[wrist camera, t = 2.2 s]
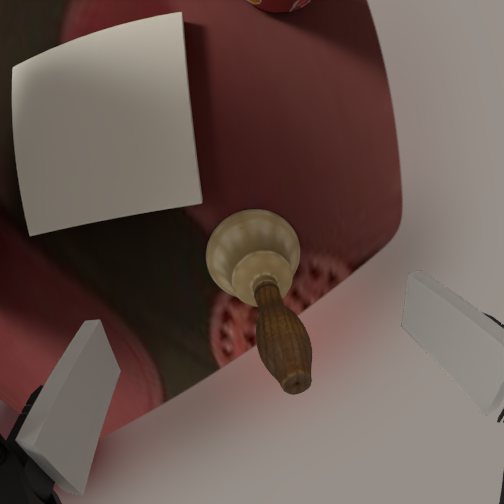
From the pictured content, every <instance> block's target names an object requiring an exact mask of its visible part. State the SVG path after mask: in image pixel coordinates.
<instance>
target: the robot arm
mask: <svg viewBox="0 0 504 504" xmlns="http://www.w3.org/2000/svg"><path fill="white" fill-rule="evenodd" d="M401 326H402V327H403V328H404V329H405V330H406V331H407V332H408V333H409V334H410V335H411V337H412V338H413V339H414V340H415V341H416V342H417V343H418V344H419V345H420V346H421V347H422V348H423V349H424V350H425V351H426V352H427V353H428V354H429V356H430V357H432V359H433V360H434V361H435V362H436V363H437V364H438V365H439V366H440V367H441V368H442V369H443V371H444V372H445V373H446V374H447V375H448V376H449V377H450V378H451V379H452V380H453V382H454V383H455V384H456V385H457V386H458V387H459V388H460V389H461V390H462V391H463V393H464V394H465V395H466V396H467V397H468V398H469V400H470V401H471V402H472V403H473V404H474V405H475V406H476V408H477V409H478V410H479V411H480V412H481V413H482V414H483V416H484V417H485V416H487V415H488V414H490V413H491V412H493V411H494V410H496V409H497V408H498V407H499V405H500V403H501V401H502V399H503V397H504V325H503V324H502V325H501V323H500V322H499V321H498V320H496V319H495V318H494V317H492V316H489V315H487V314H485V313H482V312H480V311H479V310H478V309H477V308H475V307H474V306H472V305H471V304H469V303H468V302H467V301H465V300H464V299H463V298H461V297H460V296H458V295H457V294H455V293H454V292H452V291H451V290H450V289H448V288H447V287H445V286H444V285H442V284H441V283H439V282H438V281H436V280H435V279H433V278H432V277H430V276H429V275H427V274H426V273H424V272H423V271H421V270H420V271H416V272H411V273H408V277H407V287H406V295H405V303H404V311H403V318H402V324H401ZM120 372H121V370H120V368H119V366H118V363H117V361H116V359H115V356H114V354H113V351H112V349H111V346H110V344H109V341H108V339H107V336H106V334H105V331H104V328H103V326H102V323H101V320H100V319H99V320H87V321H84V323H83V324H82V326H81V327H80V329H79V330H78V332H77V333H76V335H75V336H74V338H73V339H72V341H71V343H70V344H69V346H68V347H67V349H66V350H65V352H64V354H63V355H62V357H61V358H60V360H59V362H58V363H57V365H56V367H55V368H54V370H53V372H52V373H51V375H50V377H49V378H48V380H47V382H46V383H45V385H44V386H42V385H41V386H40V387H39V388H38V389H36V390H35V391H34V392H33V393H32V394H31V396H30V398H29V399H28V401H27V403H26V406H24V408H23V410H22V414H20V416H19V417H18V419H17V421H16V423H15V425H14V427H13V429H12V431H11V432H10V434H9V436H8V438H7V440H5V439H4V438H3V437H2V436H1V434H0V504H62V503H61V501H60V499H59V497H58V495H57V494H56V493H55V491H54V490H53V487H54V483H56V484H57V485H58V486H59V487H60V488H61V489H62V490H63V491H65V492H69V493H74V494H78V495H84V491H85V487H86V483H87V478H88V475H89V471H90V468H91V464H92V460H93V457H94V453H95V450H96V446H97V443H98V439H99V436H100V433H101V429H102V426H103V423H104V420H105V417H106V413H107V410H108V407H109V404H110V401H111V398H112V395H113V392H114V389H115V386H116V384H117V381H118V378H119V375H120ZM503 416H504V409H503V411H502V412H501V414H500V416H499V417H498V421H497V422H500V421H501V419H502V418H503ZM503 422H504V421H503ZM499 504H504V473H503V482H502V491H501V497H500V503H499Z"/></svg>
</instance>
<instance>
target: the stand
mask: <svg viewBox="0 0 504 504" xmlns="http://www.w3.org/2000/svg"><path fill="white" fill-rule="evenodd" d="M12 120H13V137H14V148H15V158H16V166H17V174H18V180H19V187H20V193H21V198H22V204H23V209H24V214H25V218H26V223H27V227H28V231H29V235H30V236H34V235H38V234H42V233H47V232H51V231H56V230H60V229H65V228H69V227H74V226H79V225H83V224H88V223H93V222H98V221H103V220H109V219H114V218H119V217H124V216H130V215H135V214H141V213H147V212H153V211H158V210H164V209H171V208H177V207H183V206H190V205H196V204H202V201H203V197H202V190H201V183H200V176H199V168H198V160H197V152H196V144H195V136H194V127H193V118H192V109H191V100H190V90H189V80H188V69H187V58H186V46H185V34H184V21H183V16H182V12H177V13H171V14H166V15H161V16H156V17H151V18H146V19H142V20H137V21H133V22H129V23H126V24H122V25H118V26H115V27H111V28H108V29H104V30H101V31H98V32H95V33H92V34H89V35H86V36H83V37H80V38H78V39H75V40H72V41H70V42H67V43H65V44H62V45H60V46H57V47H55V48H52V49H50V50H48V51H45V52H43V53H41V54H39V55H37V56H35V57H32V58H30V59H28V60H26V61H24V62H22V63H20V64H18V65H16V66H15V67H13V72H12Z"/></svg>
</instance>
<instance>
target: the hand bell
mask: <svg viewBox="0 0 504 504" xmlns="http://www.w3.org/2000/svg"><path fill="white" fill-rule="evenodd" d="M299 261H300V244H299V240H298V237H297V235H296V233H295V231H294V229H293V228H292V227H291V225H290V224H289V223H288V222H287V221H286V220H285V219H283V218H282V217H281V216H279V215H277V214H275V213H273V212H271V211H267V210H261V209H249V210H243V211H240V212H237V213H234V214H232V215H230V216H229V217H227V218H226V219H224V220H223V221H222V222H221V223H220V224H219V225H218V226H217V227H216V228H215V230H214V231H213V233H212V235H211V237H210V239H209V241H208V244H207V249H206V264H207V268H208V271H209V273H210V275H211V277H212V279H213V280H214V281H215V283H216V284H217V285H218V286H219V287H220V288H221V289H223V290H224V291H225V292H227V293H229V294H230V295H233V296H235V297H238V298H239V299H240V300H241V301H243V302H244V303H246V304H248V305H251V306H255V307H258V309H259V312H260V315H259V318H258V321H257V327H256V341H257V347H258V351H259V354H260V357H261V359H262V362H263V363H264V365H265V366H266V368H267V369H268V371H269V372H270V373H271V374H272V376H274V377H275V378H276V379H277V380H278V382H279V383H280V385H281V387H282V388H283V390H284V391H285V392H287V393H289V394H293V395H294V394H299V393H302V392H304V391H305V390H307V389H308V388H309V387H310V385H311V381H312V380H311V363H312V347H311V342H310V338H309V336H308V333H307V331H306V329H305V327H304V325H303V323H302V322H301V321H300V319H299V318H298V317H297V315H296V314H295V313H294V312H293V311H292V310H290V309H289V308H287V307H286V306H285V305H284V303H283V301H282V298H283V297H284V296H285V295H286V294H287V293H288V291H289V289H290V287H291V284H292V278H293V276H294V274H295V272H296V270H297V268H298V265H299Z"/></svg>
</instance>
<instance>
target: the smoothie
mask: <svg viewBox="0 0 504 504" xmlns="http://www.w3.org/2000/svg"><path fill="white" fill-rule="evenodd" d="M247 1H248V2H249V3H251V4H252V5H253V6H255V7H257V8H259V9H261V10H264V11H268V12H274V13H279V12H291V11H294V10H297V9H301V8H302V7H304V6H305V5H307V4H308V3H309V2H310V1H311V0H247Z"/></svg>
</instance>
